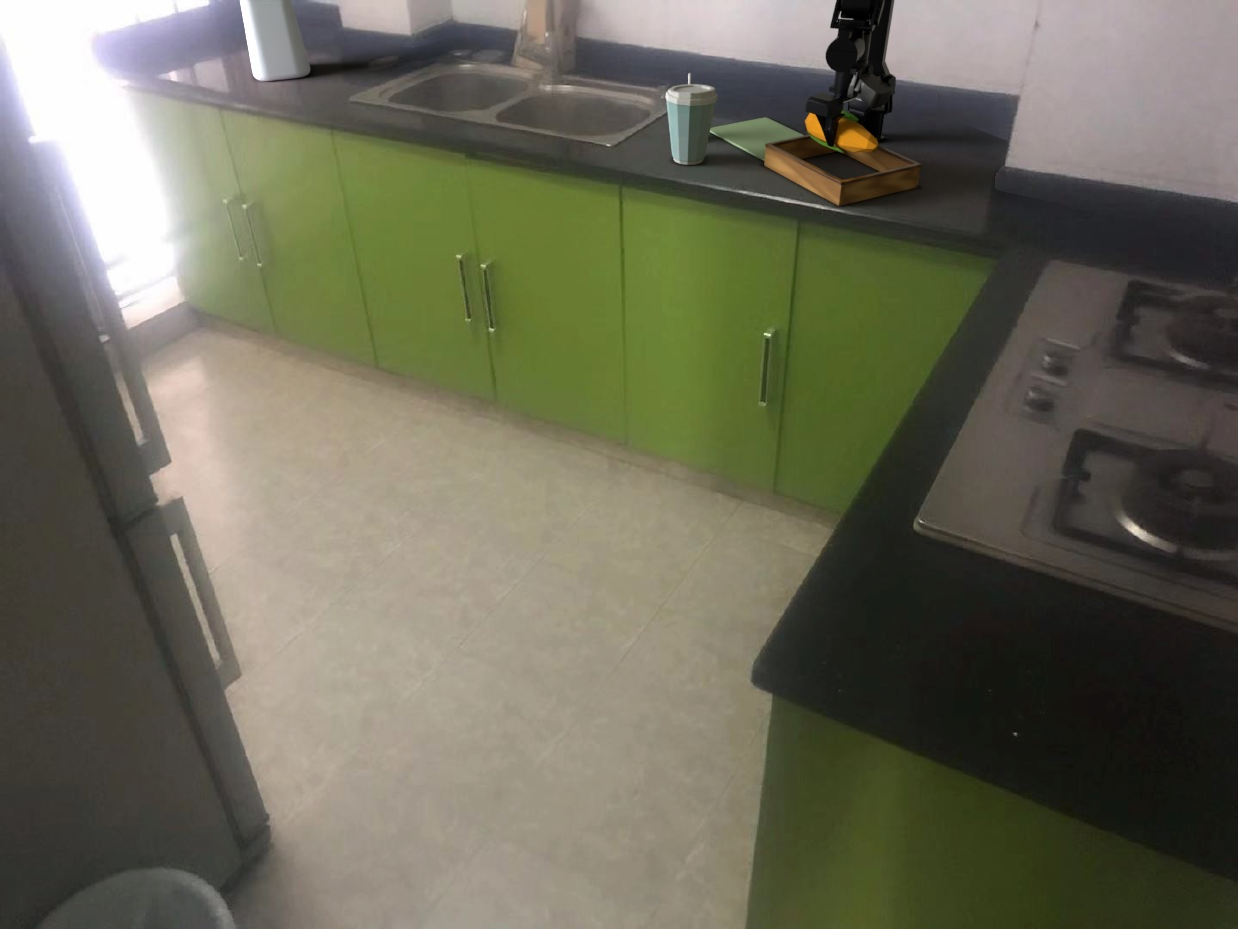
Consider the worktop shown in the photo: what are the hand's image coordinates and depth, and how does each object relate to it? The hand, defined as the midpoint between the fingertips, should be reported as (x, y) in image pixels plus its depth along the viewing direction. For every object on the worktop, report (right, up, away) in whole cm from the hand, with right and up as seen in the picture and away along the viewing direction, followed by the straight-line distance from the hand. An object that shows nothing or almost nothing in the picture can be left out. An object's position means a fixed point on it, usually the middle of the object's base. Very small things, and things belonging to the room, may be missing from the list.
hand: (842, 141), depth 187 cm
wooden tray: (0, -6, +4) cm, 7 cm away
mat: (-12, +8, +23) cm, 27 cm away
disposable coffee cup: (-29, +1, +14) cm, 32 cm away
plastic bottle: (-137, +44, +75) cm, 162 cm away
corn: (0, -1, +1) cm, 2 cm away
